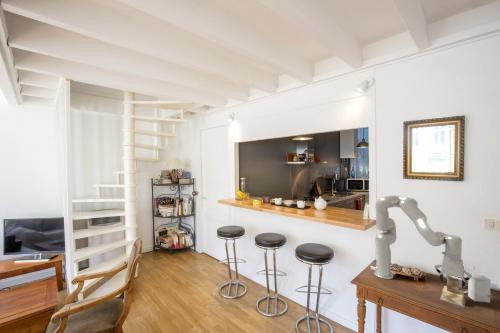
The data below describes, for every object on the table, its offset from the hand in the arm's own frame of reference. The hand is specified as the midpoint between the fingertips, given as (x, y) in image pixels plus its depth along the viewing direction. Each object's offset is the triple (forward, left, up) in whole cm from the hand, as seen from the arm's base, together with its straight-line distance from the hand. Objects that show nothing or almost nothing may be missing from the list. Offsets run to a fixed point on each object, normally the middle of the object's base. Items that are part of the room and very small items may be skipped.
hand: (452, 283), depth 142 cm
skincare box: (+11, +12, -11) cm, 20 cm away
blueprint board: (0, 0, -10) cm, 10 cm away
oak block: (0, 0, -9) cm, 9 cm away
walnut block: (0, 0, -4) cm, 4 cm away
